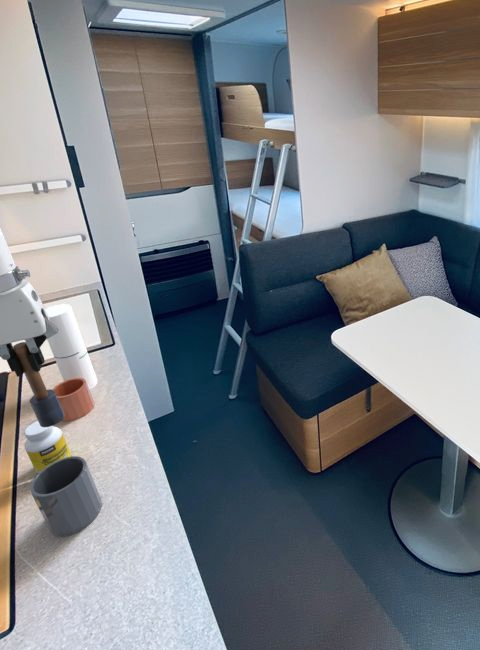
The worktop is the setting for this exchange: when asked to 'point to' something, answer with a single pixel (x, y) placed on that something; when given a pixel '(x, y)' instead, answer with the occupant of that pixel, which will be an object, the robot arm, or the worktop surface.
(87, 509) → the tumbler
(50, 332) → the robot arm
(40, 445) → the pill bottle
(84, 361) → the cylindrical container
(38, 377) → the brush
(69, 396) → the cup
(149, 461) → the worktop surface
